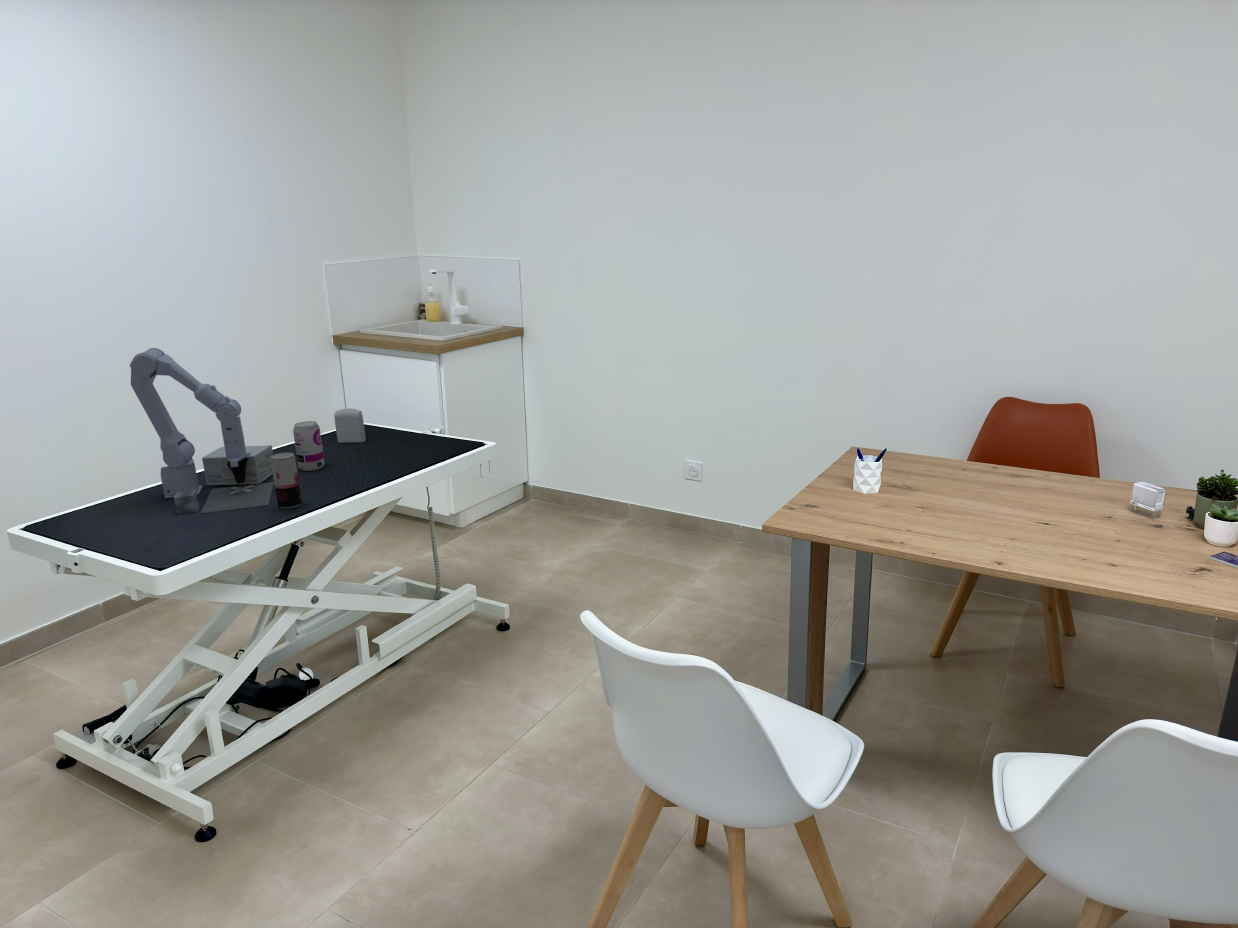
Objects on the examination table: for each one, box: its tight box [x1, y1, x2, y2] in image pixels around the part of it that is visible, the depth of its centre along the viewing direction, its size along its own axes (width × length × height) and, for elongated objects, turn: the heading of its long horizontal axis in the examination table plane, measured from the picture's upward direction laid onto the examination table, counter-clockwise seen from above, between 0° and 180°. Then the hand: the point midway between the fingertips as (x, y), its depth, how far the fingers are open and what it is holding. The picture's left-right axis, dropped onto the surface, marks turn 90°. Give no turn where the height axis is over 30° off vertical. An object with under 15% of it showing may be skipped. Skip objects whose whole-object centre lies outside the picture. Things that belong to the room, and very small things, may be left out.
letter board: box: [200, 481, 275, 515], centre depth 252 cm, size 18×22×1 cm
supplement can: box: [292, 420, 326, 472], centre depth 276 cm, size 8×8×15 cm
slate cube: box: [173, 490, 200, 515], centre depth 242 cm, size 5×5×5 cm
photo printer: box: [333, 408, 367, 444], centre depth 306 cm, size 10×4×12 cm, turn 85°
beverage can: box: [271, 452, 303, 509], centre depth 242 cm, size 6×6×15 cm
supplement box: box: [201, 444, 274, 486], centre depth 267 cm, size 17×13×9 cm
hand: (241, 482), depth 259 cm, fingers closed
